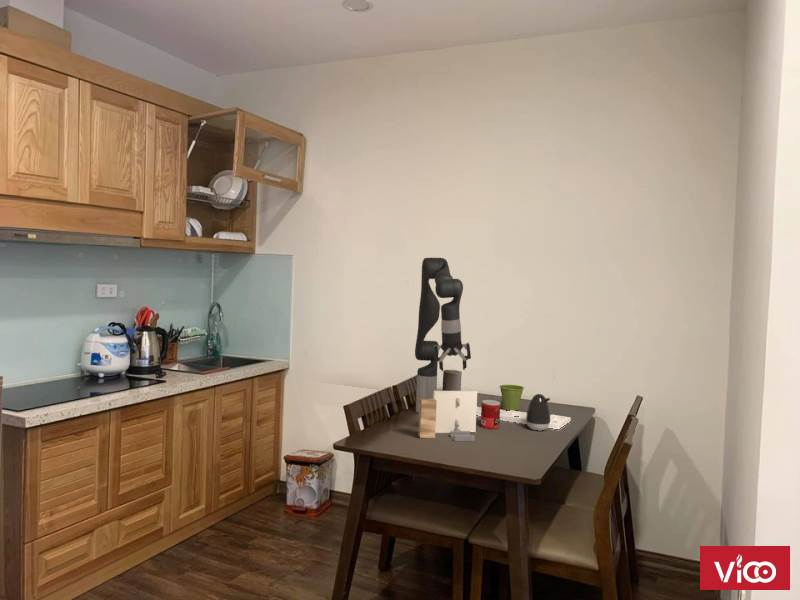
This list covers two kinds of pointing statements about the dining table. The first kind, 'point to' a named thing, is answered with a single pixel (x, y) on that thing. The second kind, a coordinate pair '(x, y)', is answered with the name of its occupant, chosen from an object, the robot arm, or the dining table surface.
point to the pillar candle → (451, 380)
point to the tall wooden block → (427, 418)
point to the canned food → (490, 414)
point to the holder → (555, 420)
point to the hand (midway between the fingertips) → (453, 369)
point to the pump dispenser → (538, 413)
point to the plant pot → (511, 396)
